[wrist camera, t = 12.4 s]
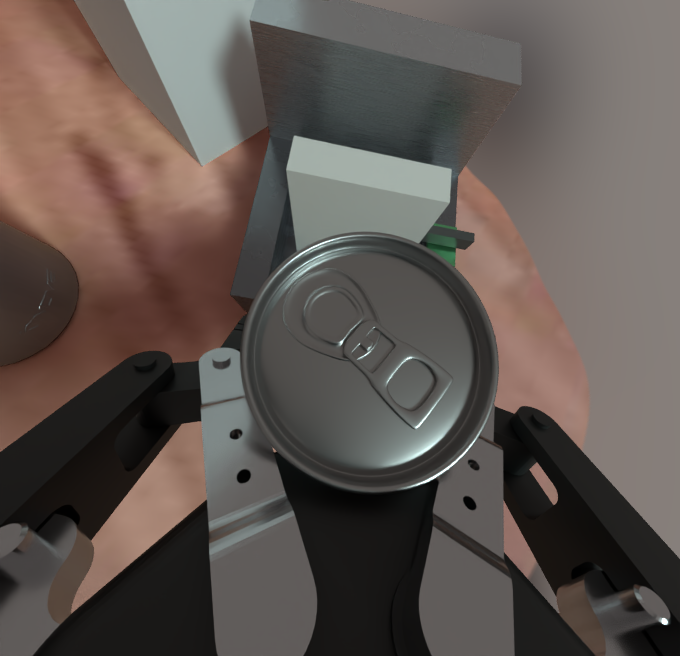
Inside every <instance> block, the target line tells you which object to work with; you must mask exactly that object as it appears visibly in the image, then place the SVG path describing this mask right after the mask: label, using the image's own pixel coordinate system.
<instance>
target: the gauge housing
mask: <svg viewBox="0 0 680 656" xmlns="http://www.w3.org/2000/svg"><path fill="white" fill-rule="evenodd" d="M249 21H250V27H251V32H252V38H253V43H254V49H255V55H256V60H257V66H258V71H259V77H260V83H261V88H262V94H263V99H264V105H265V111H266V116H267V122H268V127H269V133H270V139H269V143H268V147H267V151H266V155H265V159H264V163H263V167H262V171H261V175H260V179H259V183H258V186H257V190H256V194H255V198H254V202H253V206H252V210H251V214H250V218H249V222H248V226H247V230H246V234H245V238H244V242H243V246H242V249H241V253H240V257H239V261H238V265H237V269H236V273H235V277H234V281H233V285H232V289H231V293H230V295H231V296H232V297H233V298H234V299H235V300H236V301H237V303H238V304H239V305H240V306H241V307H242V308H243V309H244V310H245V311H246V312H249V309H250V307H251V304H252V302H253V300H254V298H255V296H256V295H257V293H258V291H259V290H260V288H261V287H262V285H263V284H264V282H265V281H266V280H267V278H268V277H269V276H270V275H271V273H272V272H273V271H274V270H275V269H276V268H277V267H278V266H279V265H280V264H281V263H282V262H284V261H285V260H286V259H287V258H288V257H290V256H291V255H293V254H294V253H295V252H297V249H296V241H295V233H294V226H293V218H292V210H291V203H290V195H289V187H288V180H287V172H286V168H287V164H288V160H289V155H290V151H291V147H292V142H293V138H294V136H298V137H303V138H308V139H313V140H317V141H322V142H327V143H331V144H336V145H341V146H345V147H350V148H355V149H360V150H364V151H369V152H374V153H378V154H383V155H388V156H392V157H397V158H402V159H407V160H411V161H416V162H421V163H425V164H430V165H435V166H439V167H444V168H449V169H452V171H451V189H450V203H449V205H448V206H447V207H446V209H445V210H444V211H443V212H442V214H441V215H440V216H439V218H438V219H437V220H436V222H435V223H434V224H433V225H434V226H439V227H444V228H449V229H454V230H457V228H456V227H455V224H456V204H457V184H458V175H459V174H460V173H461V171H462V170H463V168H464V167H465V165H466V164H467V163H468V161H469V160H470V158H471V157H472V155H473V154H474V153H475V151H476V150H477V148H478V147H479V146H480V144H481V143H482V141H483V140H484V138H485V137H486V136H487V134H488V133H489V131H490V130H491V128H492V127H493V125H494V124H495V122H496V121H497V120H498V118H499V117H500V116H501V114H502V113H503V111H504V110H505V108H506V107H507V105H508V104H509V103H510V101H511V100H512V98H513V97H514V96H515V94H516V93H517V91H518V90H519V88H520V87H521V86H522V83H521V82H522V77H521V44H520V43H516V42H512V41H508V40H504V39H500V38H496V37H492V36H489V35H485V34H480V33H477V32H473V31H469V30H465V29H460V28H457V27H453V26H449V25H445V24H441V23H437V22H433V21H429V20H425V19H421V18H417V17H413V16H409V15H405V14H401V13H397V12H393V11H389V10H385V9H381V8H377V7H373V6H369V5H365V4H362V3H358V2H353V1H350V0H255V3H254V7H253V10H252V13H251V16H250V19H249ZM419 244H421V245H423V246H425V247H427V248H429V249H430V250H432V251H434V252H435V253H437V254H438V255H440V256H441V257H442V258H444V259H445V260H446V261H448V262H449V263H450V264H451V265H452V266H454V267H455V253H456V248H453V247H448V246H443V245H438V244H433V243H427V242H422V241H420V243H419Z"/></svg>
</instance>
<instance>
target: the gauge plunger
mask: <svg viewBox="0 0 680 656" xmlns="http://www.w3.org/2000/svg"><path fill="white" fill-rule="evenodd" d="M451 171H452V169H449V168H444V167H439V166H435V165H430V164H425V163H421V162H416V161H411V160H407V159H402V158H397V157H392V156H388V155H383V154H378V153H374V152H369V151H364V150H360V149H355V148H350V147H345V146H341V145H336V144H331V143H327V142H322V141H317V140H313V139H308V138H303V137H298V136H294V138H293V142H292V147H291V151H290V155H289V160H288V164H287V168H286V172H287V180H288V187H289V195H290V203H291V210H292V218H293V226H294V233H295V241H296V249H297V251H298V250H300V249H302V248H304V247H305V246H307V245H309V244H311V243H313V242H316V241H318V240H321V239H324V238H327V237H330V236H334V235H338V234H343V233H350V232H380V233H387V234H392V235H396V236H400V237H403V238H406V239H409V240H412V241H414V242H416V243H420V241H422V242H427V243H433V244H438V245H443V246H448V247H453V248H459V249H464V250H465V249H467V248H468V247H469V246H470V245H471V244H472V243H473V242H474V233H469V232H464V231H459V230H454V229H449V228H444V227H439V226H434V225H433V224H434V223H435V222H436V220H437V219H438V218H439V216H440V215H441V214H442V212H443V211H444V210H445V209H446V207H447V206H448V205H449V203H450V189H451Z"/></svg>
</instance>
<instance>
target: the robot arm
mask: <svg viewBox="0 0 680 656" xmlns="http://www.w3.org/2000/svg"><path fill="white" fill-rule="evenodd" d="M77 299H78V282H77V278H76V274H75V271H74V270H73V268H72V266H71V264H70V262H69V261H68V260H67V259H66V258H65V257H64V256H63V255H62V254H61V253H60V252H58V251H57V250H55V249H54V248H52V247H50V246H49V245H47V244H45V243H43V242H41V241H39V240H37V239H35V238H33V237H31V236H29V235H27V234H25V233H23V232H21V231H19V230H17V229H15V228H13V227H12V226H10V225H8V224H6V223H4V222H2V221H0V366H3V365H7V364H11V363H15V362H18V361H20V360H23V359H25V358H27V357H30V356H32V355H33V354H35V353H37V352H38V351H40V350H42V349H43V348H45V347H46V346H47V345H48V344H49V343H51V342H52V341H53V340H54V339H55V338H56V337H57V336H58V335H59V334H60V333H61V332H62V330H63V329H64V328H65V327H66V325H67V324H68V322H69V320H70V318H71V316H72V314H73V312H74V310H75V306H76V303H77ZM246 317H247V314H246V315H245V316H243V317H242V318H241V320H240V321H239V322H238V324H237V325H236V327H235V328H234V330H233V331H232V332H231V334H230V335H229V336H228V338H227V339H226V341H225V342H224V343H223V345H222V346H221V348H217V349H213V350H210V351H208V352H206V353H205V354H204V355H203V356H202V357H201V358H200V360H199V361H195V362H183V363H172V359H171V357H170V355H168V354H167V353H165V352H161V351H147V352H142V353H138V354H135V355H133V356H131V357H129V358H127V359H126V360H124V361H123V362H121V363H120V364H119V365H117V366H116V367H115V368H113V369H112V370H111V371H109V372H108V373H107V374H105V375H104V376H103V377H101V378H100V379H98V380H97V381H96V382H94V383H93V384H92V385H90V386H89V387H88V388H86V389H85V390H84V391H82V392H81V393H80V394H78V395H77V396H75V397H74V398H73V399H71V400H70V401H69V402H67V403H66V404H65V405H63V406H62V407H61V408H59V409H58V410H57V411H55V412H54V413H53V414H51V415H50V416H48V417H47V418H46V419H44V420H43V421H42V422H40V423H39V424H38V425H36V426H35V427H34V428H32V429H31V430H30V431H28V432H27V433H26V434H24V435H23V436H21V437H20V438H19V439H17V440H16V441H15V442H13V443H12V444H11V445H9V446H8V447H7V448H5V449H4V450H3V451H1V452H0V656H680V559H679V558H678V557H677V555H676V554H675V553H674V552H673V551H672V550H671V549H670V548H669V547H668V546H667V544H666V543H665V542H664V541H663V540H662V539H661V538H660V537H659V536H658V535H657V534H656V532H655V531H654V530H653V529H652V528H651V527H650V526H649V525H648V523H647V522H646V521H645V520H644V519H643V518H642V517H641V516H640V515H639V513H638V512H637V511H636V510H635V509H634V508H633V507H632V506H631V505H630V504H629V502H628V501H627V500H626V499H625V498H624V497H623V496H622V495H621V494H620V493H619V491H618V490H617V489H616V488H615V487H614V486H613V485H612V484H611V483H610V482H609V480H608V479H607V478H606V477H605V476H604V475H603V474H602V473H601V472H600V471H599V469H598V468H597V467H596V466H595V465H594V464H593V463H592V462H591V461H590V460H589V458H588V457H587V456H586V455H585V454H584V453H583V452H582V451H581V450H580V448H579V447H578V446H577V445H576V444H575V443H574V442H573V441H572V440H571V438H570V437H569V436H568V435H567V434H566V433H565V432H564V431H563V430H562V429H561V427H560V426H559V425H558V424H557V423H556V422H555V421H554V420H553V419H552V418H551V417H549V416H548V415H546V414H545V413H543V412H541V411H540V410H537V409H535V408H532V407H528V406H523V407H520V408H519V409H518V410H517V412H516V413H515V414H513V413H511V412H508V411H505V410H503V409H500V408H498V407H495V406H494V405H493V408H492V411H491V414H490V416H489V419H488V421H487V423H486V425H485V427H484V429H483V431H482V433H481V434H480V436H479V438H478V439H477V441H476V442H475V444H474V445H473V446H472V447H471V449H470V450H469V451H468V452H467V453H466V455H465V456H464V457H463V458H462V459H461V460H460V461H459V462H458V463H456V464H455V465H454V466H453V467H452V468H450V469H449V470H448V471H446V472H445V473H443V474H442V475H440V476H439V477H437V478H435V479H434V480H432V481H430V482H428V483H426V484H423V485H421V486H418V487H416V488H413V489H410V490H406V491H402V492H397V493H391V494H379V495H369V494H357V493H351V492H346V491H342V490H338V489H335V488H332V487H329V486H326V485H324V484H322V483H319V482H317V481H315V480H313V479H311V478H310V477H308V476H306V475H305V474H303V473H302V472H300V471H299V470H297V469H296V468H294V467H293V466H292V465H291V464H289V463H288V462H287V461H286V460H285V459H284V458H283V457H282V456H281V455H280V454H279V453H278V452H275V453H274V452H273V449H272V445H271V444H270V443H269V442H268V440H267V439H266V438H265V436H264V435H263V433H262V432H261V430H260V428H259V427H258V425H257V423H256V421H255V419H254V417H253V415H252V413H251V411H250V408H249V405H248V403H247V400H246V396H245V393H244V389H243V384H242V378H241V370H240V347H241V338H242V333H243V328H244V324H245V321H246ZM197 421H202V435H203V450H204V464H205V478H206V493H207V500H206V501H204V502H203V503H202V504H201V505H200V506H199V507H197V508H196V509H195V510H194V511H193V512H191V513H190V514H189V515H188V516H187V517H186V518H184V519H183V520H182V521H181V522H180V523H178V524H177V525H176V526H175V527H174V528H172V529H171V530H170V531H169V532H168V533H167V534H165V535H164V536H163V537H162V538H161V539H159V540H158V541H157V542H156V543H155V544H154V545H152V546H151V547H150V548H149V549H148V550H146V551H145V552H144V553H143V554H142V555H140V556H139V557H138V558H137V559H136V560H135V561H133V562H132V563H131V564H130V565H129V566H127V567H126V568H125V569H124V570H123V571H122V572H120V573H119V574H118V575H117V576H116V577H114V578H113V579H112V580H111V581H110V582H109V583H107V584H106V585H105V586H104V587H103V588H101V589H100V590H99V591H98V592H97V593H95V594H94V595H93V596H92V597H91V598H90V599H88V600H87V601H86V602H85V603H84V604H82V605H81V606H80V607H79V608H78V609H76V610H75V611H74V612H73V613H72V614H71V608H72V603H73V600H74V597H75V595H76V592H77V590H78V588H79V586H80V585H81V583H82V581H83V580H84V578H85V576H86V575H87V573H88V571H89V569H90V567H91V564H92V561H93V557H94V547H93V544H92V542H91V540H92V539H93V537H94V536H95V535H96V533H97V532H98V531H99V530H100V528H101V527H102V526H103V524H104V523H105V522H106V521H107V519H108V518H109V517H110V515H111V514H112V513H113V512H114V510H115V509H116V508H117V506H118V505H119V504H120V503H121V501H122V500H123V499H124V497H125V496H126V495H127V494H128V492H129V491H130V490H131V488H132V487H133V486H134V485H135V483H136V482H137V481H138V479H139V478H140V477H141V476H142V474H143V473H144V472H145V470H146V469H147V468H148V467H149V465H150V464H151V463H152V461H153V460H154V459H155V458H156V456H157V455H158V454H159V452H160V451H161V450H162V449H163V447H164V446H165V445H166V443H167V442H168V441H169V440H170V438H171V437H172V436H173V434H174V433H175V432H176V431H177V429H178V428H179V427H180V425H181V424H183V423H190V422H197ZM536 462H538V464H539V465H540V467H541V468H542V469H543V471H544V472H545V473H546V475H547V476H548V478H549V479H550V480H551V482H552V483H553V485H554V486H555V488H556V490H557V493H558V501H557V503H556V504H555V505H553V504H552V502H551V501H550V500H549V498H548V497H547V495H546V494H545V492H544V491H543V489H542V488H541V486H540V485H539V483H538V482H537V480H536V479H535V477H534V476H533V475H532V473H531V472H530V470H529V469H530V468H531V467H532V466H533V465H534V464H535V463H536ZM503 500H504V501H505V503H506V505H507V507H508V509H509V511H510V513H511V514H512V516H513V518H514V520H515V522H516V524H517V525H518V527H519V529H520V531H521V533H522V535H523V536H524V538H525V540H526V542H527V544H528V546H529V547H530V549H531V551H532V553H533V555H534V557H535V559H536V560H537V562H538V564H539V566H540V567H541V570H542V571H543V573H544V575H545V577H546V579H547V581H548V582H549V584H550V586H551V588H552V590H553V592H554V593H555V595H556V597H557V605H558V609H559V612H560V613H557V612H556V610H555V609H554V608H553V607H552V606H551V605H550V604H549V603H548V601H547V600H546V599H545V598H544V597H543V596H542V595H541V593H540V592H539V591H538V590H537V589H536V588H535V587H534V586H533V584H532V583H531V582H530V581H529V580H528V579H527V578H526V577H525V575H524V574H523V573H522V572H521V571H520V570H519V569H518V568H517V566H516V565H515V564H514V563H513V562H512V561H511V560H510V559H509V557H508V556H507V555H506V554H505V553H504V528H503Z"/></svg>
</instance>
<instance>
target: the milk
mask: <svg viewBox="0 0 680 656" xmlns="http://www.w3.org/2000/svg"><path fill="white" fill-rule="evenodd" d="M74 1H75V3H76V5H77V6H78V8H79V10H80V12H81V13H82V15H83V17H84V18H85V20H86V22H87V24H88V25H89V27H90V29H91V30H92V32H93V34H94V35H95V37H96V39H97V41H98V42H99V44H100V46H101V47H102V49H103V51H104V52H105V54H106V56H107V58H108V59H109V61H110V63H111V64H112V66H113V68H114V70H115V71H116V73H117V75H118V76H119V78H120V79H121V80H122V81H123V82H124V83H125V84H126V85H127V87H128V88H129V89H130V90H131V91H132V92H133V93H134V94H135V95H136V96H137V97H138V98H139V99H140V101H141V102H142V103H143V104H144V105H145V106H146V107H147V108H148V109H149V110H150V111H151V112H152V113H153V114H154V116H155V117H156V118H157V119H158V120H159V121H160V122H161V123H162V124H163V125H164V126H165V127H166V128H167V129H168V131H169V132H170V133H171V134H172V135H173V136H174V137H175V138H176V139H177V140H178V141H179V142H180V143H181V144H182V146H183V147H184V148H185V149H186V150H187V151H188V152H189V153H190V154H191V155H192V156H193V157H194V158H195V159H196V161H197V162H198V163H199V164H200V165H201V166H204V165H206V164H207V163H209V162H210V161H212V160H214V159H215V158H217V157H219V156H220V155H222V154H223V153H225V152H227V151H228V150H230V149H232V148H233V147H235V146H237V145H238V144H240V143H241V142H243V141H245V140H246V139H248V138H250V137H251V136H253V135H255V134H256V133H258V132H259V131H261V130H263V129H264V128H266V127H268V122H267V116H266V111H265V105H264V99H263V94H262V88H261V83H260V77H259V71H258V66H257V60H256V55H255V49H254V43H253V38H252V32H251V27H250V21H249V19H250V16H251V13H252V10H253V7H254V3H255V0H74Z"/></svg>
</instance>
